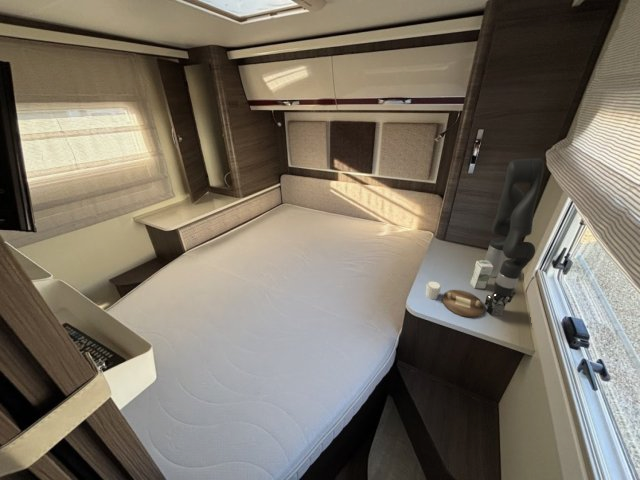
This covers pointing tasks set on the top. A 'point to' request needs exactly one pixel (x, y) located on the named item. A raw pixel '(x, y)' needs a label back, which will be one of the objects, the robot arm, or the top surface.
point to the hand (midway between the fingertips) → (494, 310)
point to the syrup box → (481, 274)
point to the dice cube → (498, 308)
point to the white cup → (432, 289)
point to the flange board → (463, 303)
